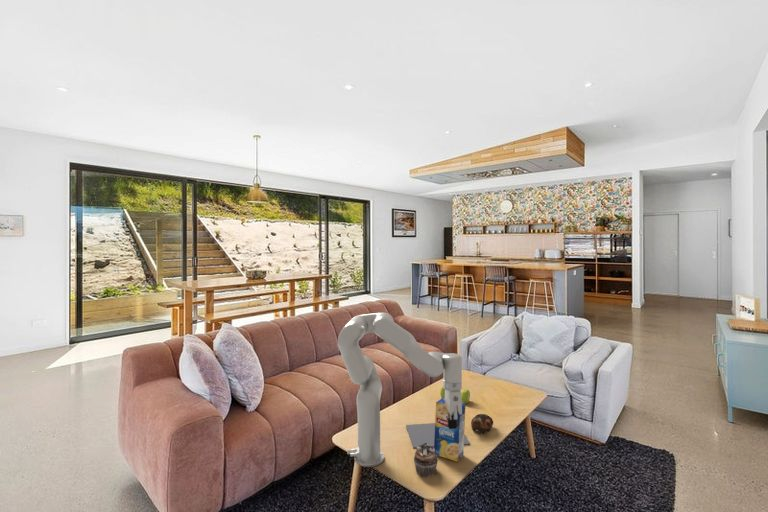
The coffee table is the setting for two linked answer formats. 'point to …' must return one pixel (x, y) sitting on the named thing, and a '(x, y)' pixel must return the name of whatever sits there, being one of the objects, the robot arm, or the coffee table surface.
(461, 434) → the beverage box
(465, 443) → the mat
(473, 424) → the decorative turtle
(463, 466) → the coffee table surface
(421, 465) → the cupcake
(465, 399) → the dumbbell
